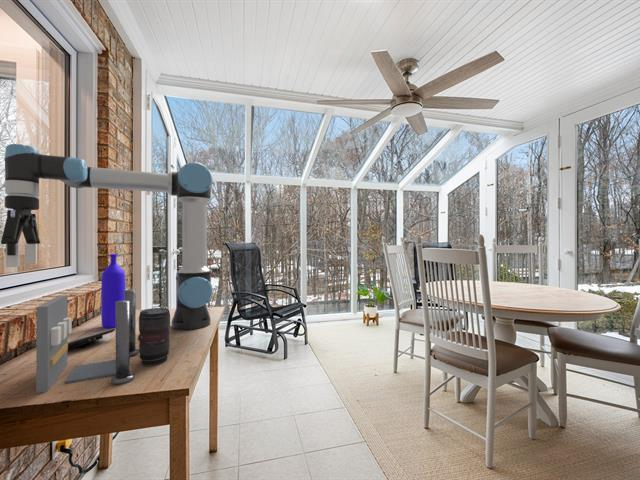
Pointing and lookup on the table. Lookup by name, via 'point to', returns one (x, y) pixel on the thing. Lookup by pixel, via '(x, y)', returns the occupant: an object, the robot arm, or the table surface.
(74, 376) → the pad
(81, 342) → the electrical outlet
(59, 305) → the breaker panel
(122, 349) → the post
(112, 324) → the bottle
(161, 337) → the camera lens
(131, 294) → the post
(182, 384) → the table surface
